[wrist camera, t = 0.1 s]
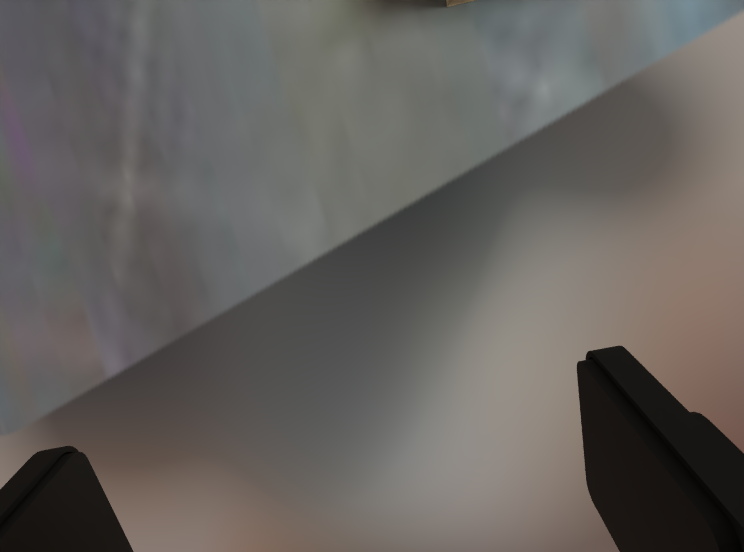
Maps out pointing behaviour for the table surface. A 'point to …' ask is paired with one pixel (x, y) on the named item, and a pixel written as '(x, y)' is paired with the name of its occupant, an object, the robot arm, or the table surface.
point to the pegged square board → (457, 2)
